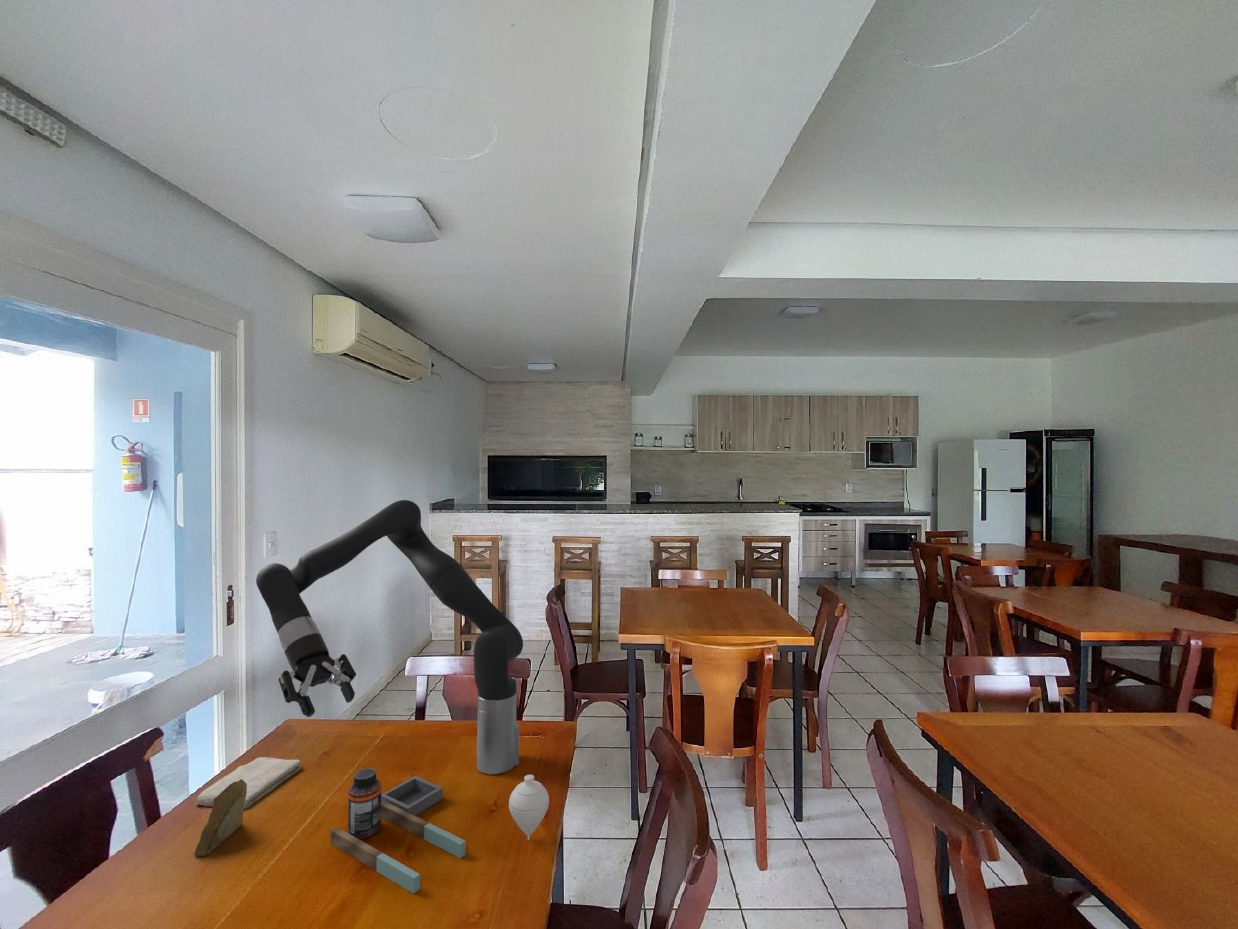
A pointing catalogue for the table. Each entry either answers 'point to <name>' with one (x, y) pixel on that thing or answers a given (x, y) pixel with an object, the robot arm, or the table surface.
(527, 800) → the spinning top
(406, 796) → the grey square tray
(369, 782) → the supplement bottle
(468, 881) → the table surface
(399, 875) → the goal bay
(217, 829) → the rock
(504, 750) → the robot arm
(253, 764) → the washcloth
